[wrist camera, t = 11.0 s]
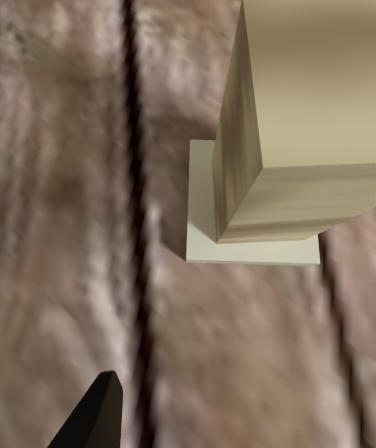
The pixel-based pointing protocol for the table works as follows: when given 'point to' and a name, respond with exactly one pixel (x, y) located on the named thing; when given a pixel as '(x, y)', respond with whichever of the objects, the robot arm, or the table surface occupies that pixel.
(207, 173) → the top slab
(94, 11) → the table surface
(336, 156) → the beige rectangular block
